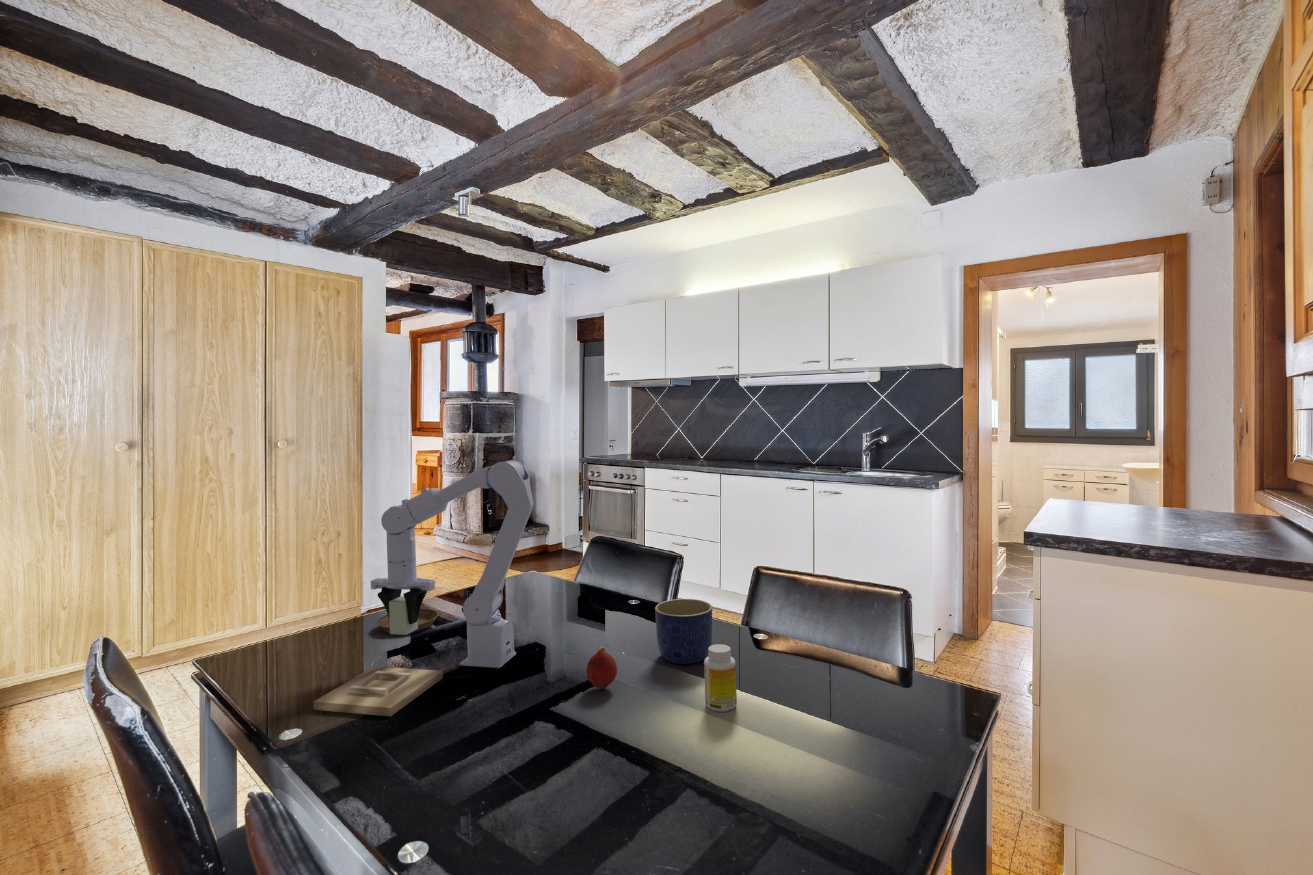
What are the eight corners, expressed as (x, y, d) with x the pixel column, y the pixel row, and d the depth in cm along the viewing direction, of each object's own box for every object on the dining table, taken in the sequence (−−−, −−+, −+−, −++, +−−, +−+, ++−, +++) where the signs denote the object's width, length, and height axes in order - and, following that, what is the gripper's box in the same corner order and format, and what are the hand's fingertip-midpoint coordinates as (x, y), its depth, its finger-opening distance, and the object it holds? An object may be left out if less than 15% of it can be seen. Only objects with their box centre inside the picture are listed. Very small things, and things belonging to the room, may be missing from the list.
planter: (647, 664, 122) (646, 612, 122) (668, 643, 133) (667, 596, 133) (703, 671, 117) (702, 618, 117) (720, 649, 128) (719, 601, 128)
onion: (612, 697, 107) (611, 654, 107) (582, 695, 108) (581, 652, 108) (620, 683, 112) (619, 642, 112) (592, 681, 114) (591, 641, 114)
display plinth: (442, 678, 117) (442, 665, 117) (390, 716, 102) (390, 702, 102) (374, 673, 121) (373, 661, 121) (313, 709, 105) (313, 695, 105)
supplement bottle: (743, 708, 101) (741, 650, 101) (716, 715, 99) (714, 656, 99) (725, 695, 106) (724, 640, 106) (699, 702, 104) (697, 645, 104)
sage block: (417, 628, 128) (416, 596, 128) (406, 634, 124) (405, 602, 124) (401, 627, 128) (400, 596, 128) (390, 633, 125) (388, 601, 124)
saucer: (444, 628, 149) (444, 618, 149) (382, 641, 141) (381, 630, 141) (431, 614, 161) (430, 605, 161) (372, 626, 153) (372, 615, 153)
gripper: (359, 563, 124) (362, 626, 124) (420, 565, 120) (422, 629, 121) (382, 556, 130) (384, 616, 131) (439, 557, 127) (441, 619, 127)
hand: (403, 622), depth 126 cm, fingers closed on sage block, 4 cm apart
